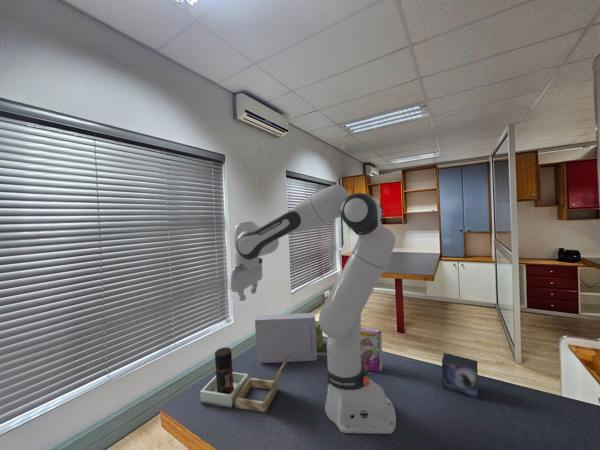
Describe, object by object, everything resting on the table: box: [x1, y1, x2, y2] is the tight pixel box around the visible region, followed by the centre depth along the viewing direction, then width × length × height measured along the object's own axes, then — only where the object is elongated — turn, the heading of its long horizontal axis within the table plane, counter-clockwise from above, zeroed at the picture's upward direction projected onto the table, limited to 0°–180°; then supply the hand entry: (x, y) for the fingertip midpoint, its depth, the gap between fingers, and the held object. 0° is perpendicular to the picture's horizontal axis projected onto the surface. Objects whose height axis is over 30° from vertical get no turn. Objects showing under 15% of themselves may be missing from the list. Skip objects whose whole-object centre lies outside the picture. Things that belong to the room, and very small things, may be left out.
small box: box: [441, 352, 479, 400], centre depth 88 cm, size 11×6×10 cm, turn 53°
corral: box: [234, 377, 279, 413], centre depth 89 cm, size 12×12×3 cm
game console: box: [254, 312, 318, 364], centre depth 113 cm, size 6×27×20 cm, turn 89°
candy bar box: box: [360, 325, 384, 374], centre depth 104 cm, size 11×5×16 cm, turn 58°
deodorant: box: [214, 347, 234, 394], centre depth 93 cm, size 6×6×15 cm
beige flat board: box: [265, 355, 289, 404], centre depth 87 cm, size 12×12×1 cm
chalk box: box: [315, 320, 324, 353], centre depth 123 cm, size 9×9×15 cm
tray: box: [199, 371, 249, 409], centre depth 93 cm, size 13×13×4 cm
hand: (248, 296), depth 99 cm, fingers open, 8 cm apart
